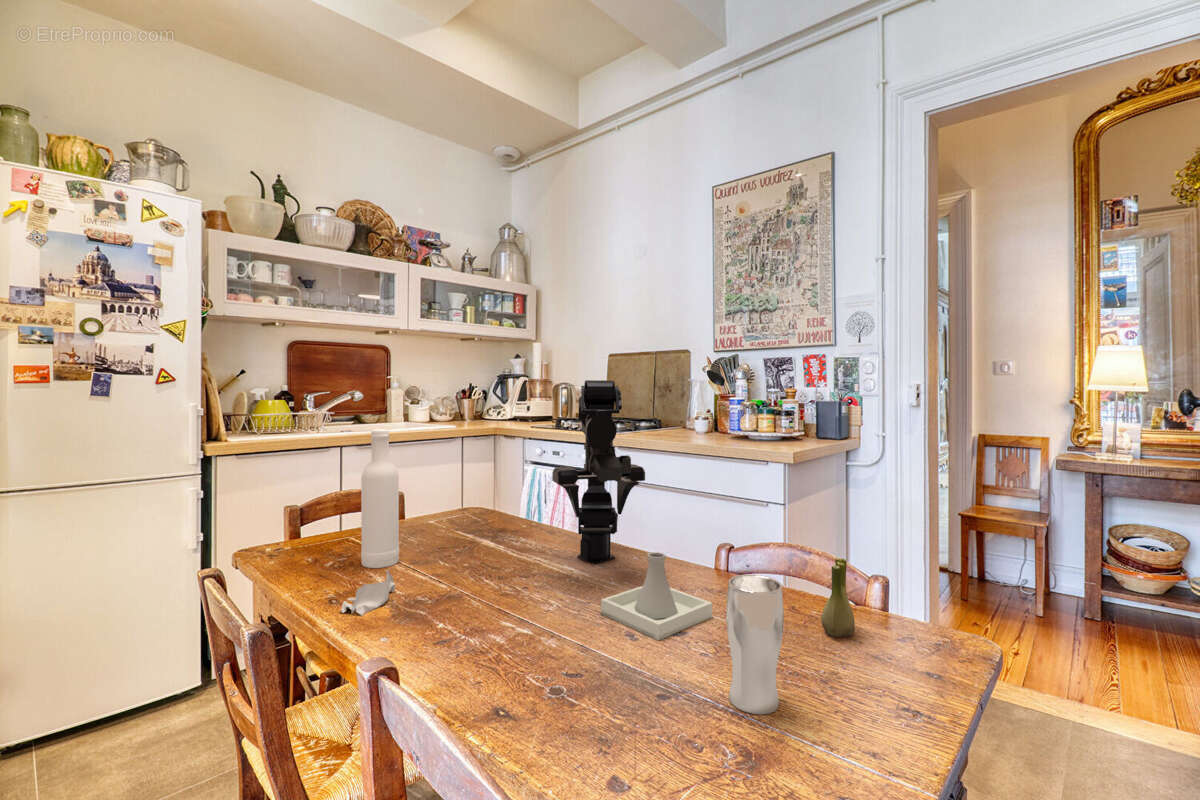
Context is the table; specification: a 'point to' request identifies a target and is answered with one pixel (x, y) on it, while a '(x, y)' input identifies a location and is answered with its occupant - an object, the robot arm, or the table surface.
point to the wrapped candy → (370, 596)
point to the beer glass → (754, 641)
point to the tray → (687, 616)
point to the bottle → (380, 506)
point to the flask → (656, 590)
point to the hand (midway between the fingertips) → (598, 515)
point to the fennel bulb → (838, 605)
